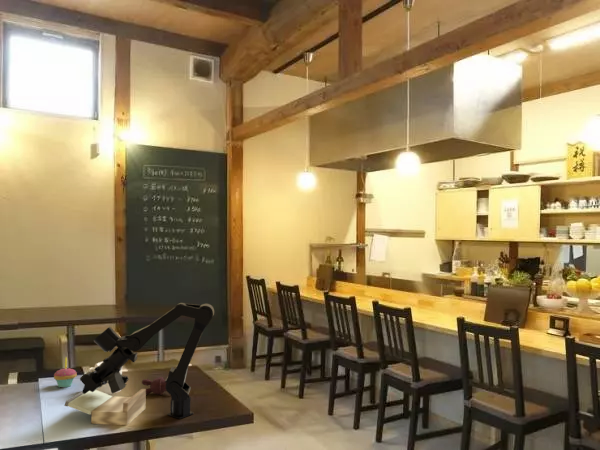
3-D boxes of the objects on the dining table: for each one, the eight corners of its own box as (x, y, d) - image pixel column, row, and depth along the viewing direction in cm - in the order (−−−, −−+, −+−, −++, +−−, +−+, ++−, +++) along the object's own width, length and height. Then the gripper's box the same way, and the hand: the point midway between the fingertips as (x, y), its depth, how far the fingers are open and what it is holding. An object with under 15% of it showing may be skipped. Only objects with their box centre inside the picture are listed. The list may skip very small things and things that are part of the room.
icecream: (182, 375, 201) (144, 377, 201) (177, 375, 194) (138, 378, 194) (182, 393, 199) (144, 396, 199) (177, 394, 192) (138, 397, 192)
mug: (81, 394, 194) (82, 367, 195) (90, 387, 204) (90, 360, 205) (117, 394, 196) (118, 366, 196) (124, 386, 206) (125, 360, 206)
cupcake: (53, 384, 207) (54, 355, 208) (76, 382, 211) (77, 353, 211) (53, 390, 200) (54, 359, 200) (76, 387, 203) (77, 357, 204)
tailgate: (113, 395, 180) (89, 386, 181) (91, 410, 164) (65, 400, 165) (111, 399, 180) (88, 390, 181) (89, 415, 164) (64, 405, 165)
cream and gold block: (145, 408, 179) (145, 389, 180) (127, 425, 163) (127, 403, 164) (112, 407, 180) (113, 387, 180) (91, 423, 164) (91, 401, 164)
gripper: (119, 386, 162) (86, 419, 163) (141, 371, 181) (111, 401, 181) (96, 361, 163) (63, 394, 164) (121, 348, 182) (90, 378, 182)
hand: (83, 392), depth 173 cm, fingers closed
